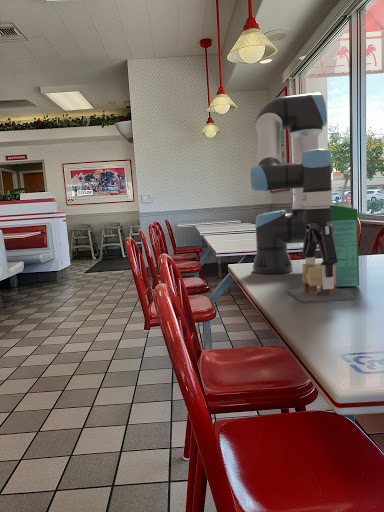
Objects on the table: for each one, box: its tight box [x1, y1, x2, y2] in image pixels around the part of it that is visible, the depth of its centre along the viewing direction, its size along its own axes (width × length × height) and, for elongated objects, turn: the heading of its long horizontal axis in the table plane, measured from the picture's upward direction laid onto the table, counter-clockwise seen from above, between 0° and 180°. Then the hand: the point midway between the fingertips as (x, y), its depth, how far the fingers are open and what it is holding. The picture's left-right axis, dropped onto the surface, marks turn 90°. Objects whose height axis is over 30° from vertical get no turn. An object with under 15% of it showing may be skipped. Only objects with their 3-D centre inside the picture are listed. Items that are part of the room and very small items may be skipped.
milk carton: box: [326, 202, 360, 288], centre depth 118 cm, size 9×9×25 cm
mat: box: [287, 286, 356, 304], centre depth 108 cm, size 14×14×1 cm
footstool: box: [301, 262, 336, 296], centre depth 108 cm, size 7×7×8 cm
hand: (318, 283), depth 108 cm, fingers open, 13 cm apart
